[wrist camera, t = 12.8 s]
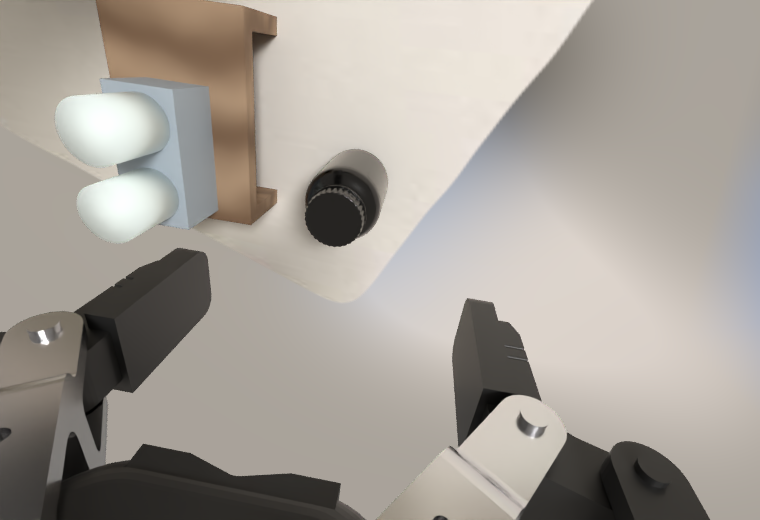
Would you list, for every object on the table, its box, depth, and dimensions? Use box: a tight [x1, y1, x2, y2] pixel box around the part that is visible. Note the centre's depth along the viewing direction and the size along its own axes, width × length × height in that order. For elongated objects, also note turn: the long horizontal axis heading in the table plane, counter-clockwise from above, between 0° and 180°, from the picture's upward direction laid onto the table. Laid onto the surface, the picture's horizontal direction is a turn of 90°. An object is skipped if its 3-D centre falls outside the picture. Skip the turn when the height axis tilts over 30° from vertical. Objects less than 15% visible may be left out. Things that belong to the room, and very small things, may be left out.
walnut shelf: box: [96, 0, 277, 225], centre depth 36 cm, size 18×12×7 cm, turn 173°
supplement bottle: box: [305, 149, 388, 247], centre depth 35 cm, size 7×7×12 cm
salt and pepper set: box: [55, 77, 218, 244], centre depth 30 cm, size 11×6×10 cm, turn 173°
